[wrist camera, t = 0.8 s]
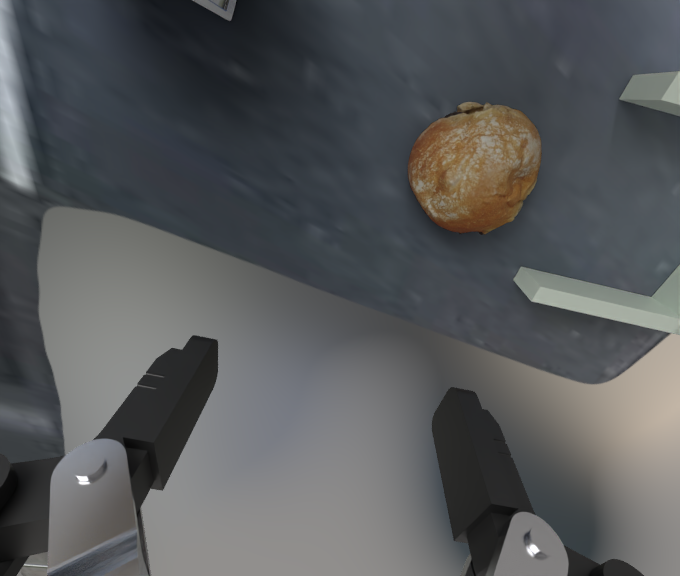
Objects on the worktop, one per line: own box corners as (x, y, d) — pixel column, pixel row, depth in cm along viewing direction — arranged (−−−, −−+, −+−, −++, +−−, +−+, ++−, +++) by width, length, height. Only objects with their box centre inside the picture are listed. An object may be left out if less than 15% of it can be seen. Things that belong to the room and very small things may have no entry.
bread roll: (501, 101, 28) (532, 46, 20) (544, 209, 28) (590, 196, 21) (395, 154, 31) (387, 124, 23) (435, 253, 31) (440, 255, 23)
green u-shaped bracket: (633, 75, 24) (679, 71, 20) (820, 128, 25) (895, 133, 21) (513, 279, 33) (530, 301, 29) (654, 312, 34) (687, 336, 31)
